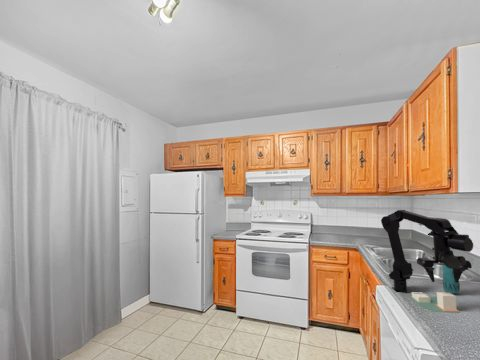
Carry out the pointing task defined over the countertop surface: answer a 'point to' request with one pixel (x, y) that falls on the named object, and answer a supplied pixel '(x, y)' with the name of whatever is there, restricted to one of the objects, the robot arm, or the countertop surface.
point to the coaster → (447, 310)
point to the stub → (446, 301)
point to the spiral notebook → (421, 297)
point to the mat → (430, 305)
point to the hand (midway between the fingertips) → (444, 282)
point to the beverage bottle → (449, 280)
